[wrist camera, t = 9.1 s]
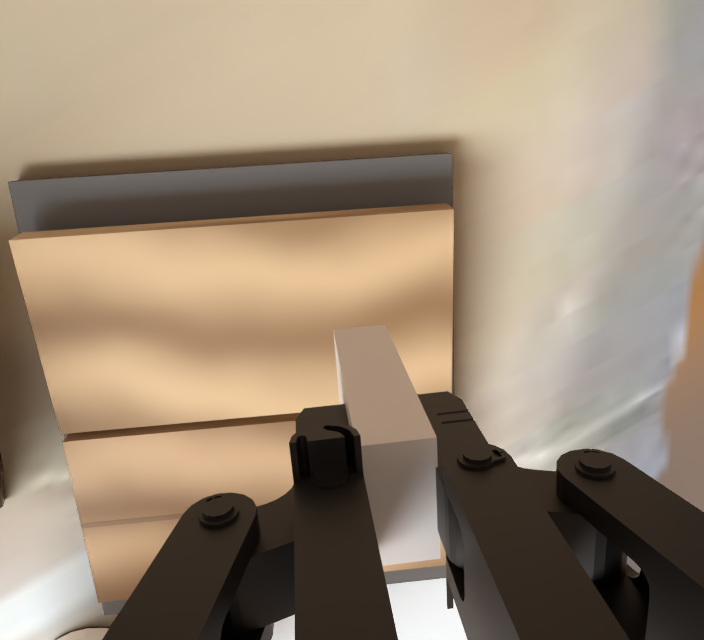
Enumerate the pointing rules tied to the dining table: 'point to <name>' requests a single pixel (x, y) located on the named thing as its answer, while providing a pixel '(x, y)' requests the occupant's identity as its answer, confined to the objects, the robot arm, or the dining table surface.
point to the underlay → (237, 210)
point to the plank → (231, 311)
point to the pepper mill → (1, 485)
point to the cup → (86, 634)
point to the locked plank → (171, 486)
